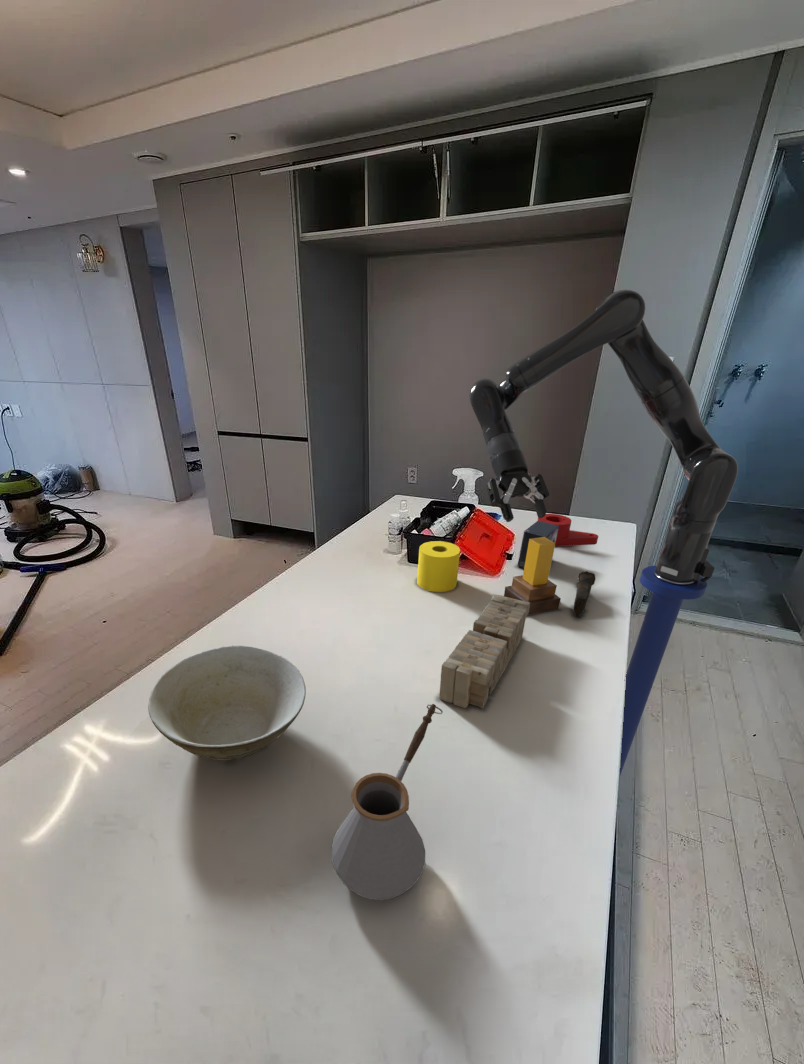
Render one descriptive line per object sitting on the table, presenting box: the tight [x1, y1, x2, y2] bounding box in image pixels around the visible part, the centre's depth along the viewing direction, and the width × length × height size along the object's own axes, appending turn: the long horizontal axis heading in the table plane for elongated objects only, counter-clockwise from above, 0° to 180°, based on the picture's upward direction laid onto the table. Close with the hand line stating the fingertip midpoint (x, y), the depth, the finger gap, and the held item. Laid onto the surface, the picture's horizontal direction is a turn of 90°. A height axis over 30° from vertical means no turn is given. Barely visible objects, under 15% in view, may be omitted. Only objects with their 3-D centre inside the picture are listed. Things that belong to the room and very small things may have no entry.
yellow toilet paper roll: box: [416, 540, 461, 593], centre depth 128 cm, size 10×10×9 cm
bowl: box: [147, 645, 307, 761], centre depth 81 cm, size 24×24×10 cm
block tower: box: [438, 594, 530, 709], centre depth 98 cm, size 8×8×29 cm
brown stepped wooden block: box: [503, 574, 562, 616], centre depth 119 cm, size 9×9×6 cm
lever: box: [537, 513, 599, 547], centre depth 153 cm, size 18×9×7 cm, turn 80°
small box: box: [516, 520, 559, 569], centre depth 138 cm, size 11×6×10 cm, turn 143°
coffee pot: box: [330, 703, 444, 901], centre depth 63 cm, size 21×12×15 cm, turn 149°
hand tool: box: [573, 570, 596, 619], centre depth 121 cm, size 19×4×5 cm, turn 151°
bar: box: [522, 537, 556, 586], centre depth 115 cm, size 4×4×10 cm
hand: (526, 518), depth 117 cm, fingers open, 8 cm apart
